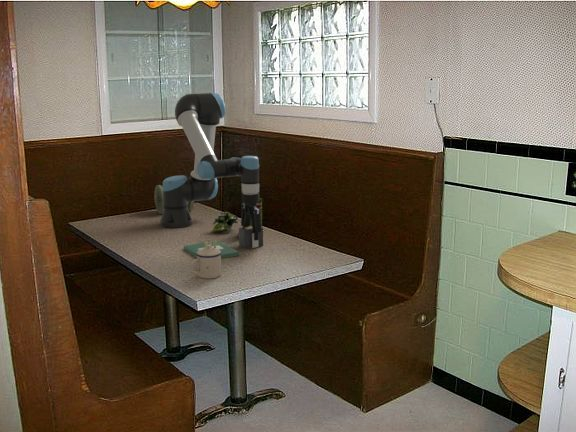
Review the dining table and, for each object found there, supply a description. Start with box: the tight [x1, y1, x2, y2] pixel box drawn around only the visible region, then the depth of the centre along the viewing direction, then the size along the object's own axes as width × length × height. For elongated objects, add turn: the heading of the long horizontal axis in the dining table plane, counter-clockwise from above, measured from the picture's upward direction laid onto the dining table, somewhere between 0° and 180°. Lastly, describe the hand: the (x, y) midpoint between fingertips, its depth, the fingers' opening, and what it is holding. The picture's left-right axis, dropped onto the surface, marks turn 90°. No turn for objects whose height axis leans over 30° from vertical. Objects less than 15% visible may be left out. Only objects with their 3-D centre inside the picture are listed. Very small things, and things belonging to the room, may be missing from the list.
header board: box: [183, 240, 240, 259], centre depth 267 cm, size 20×16×4 cm
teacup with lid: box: [190, 245, 222, 280], centre depth 236 cm, size 12×9×12 cm
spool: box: [153, 184, 195, 215], centre depth 338 cm, size 16×15×15 cm
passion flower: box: [212, 211, 239, 235], centre depth 299 cm, size 11×11×12 cm
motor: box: [242, 197, 263, 227], centre depth 294 cm, size 10×9×20 cm
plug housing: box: [238, 226, 264, 249], centre depth 276 cm, size 5×9×8 cm, turn 121°
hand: (251, 244), depth 277 cm, fingers open, 7 cm apart
